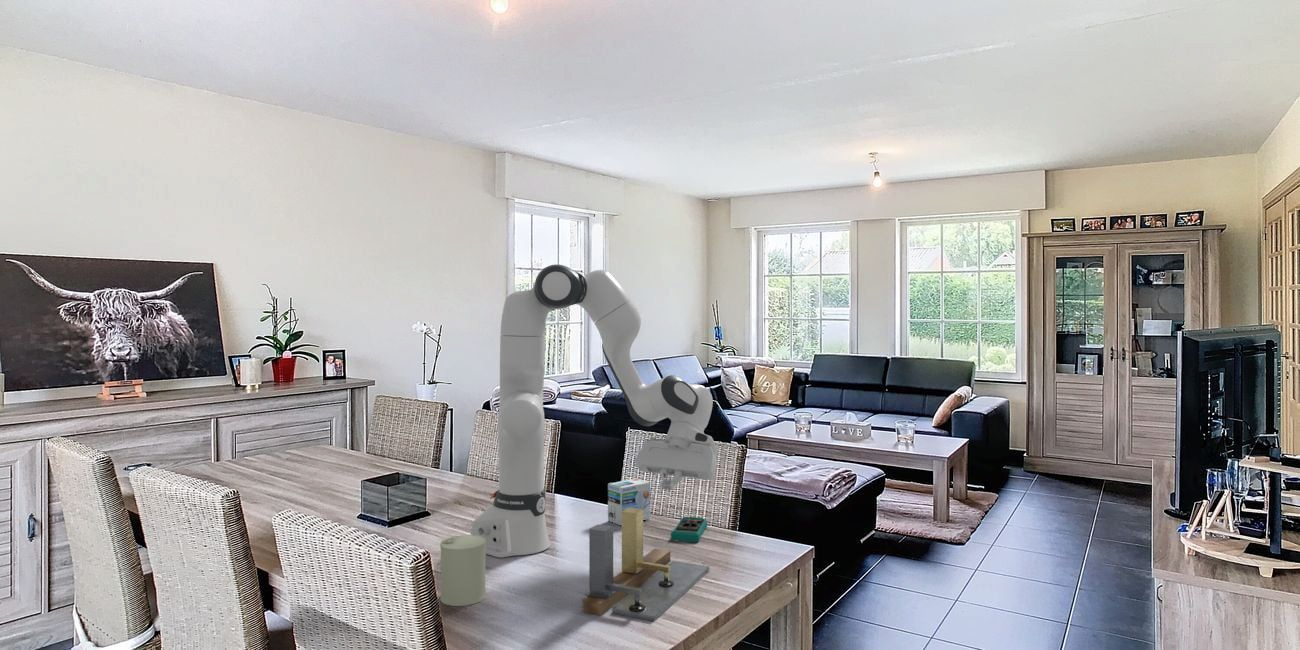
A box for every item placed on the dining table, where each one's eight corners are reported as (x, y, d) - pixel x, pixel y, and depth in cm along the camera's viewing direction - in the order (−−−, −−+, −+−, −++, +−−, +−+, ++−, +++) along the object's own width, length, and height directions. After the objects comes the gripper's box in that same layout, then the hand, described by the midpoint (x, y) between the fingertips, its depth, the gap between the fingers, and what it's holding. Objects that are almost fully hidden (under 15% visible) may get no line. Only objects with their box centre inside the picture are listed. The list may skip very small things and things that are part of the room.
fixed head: (585, 600, 146) (585, 529, 145) (596, 592, 150) (596, 523, 149) (635, 610, 141) (635, 536, 141) (645, 601, 145) (645, 530, 145)
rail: (582, 612, 144) (582, 599, 144) (655, 558, 175) (655, 548, 175) (600, 615, 142) (600, 602, 142) (670, 561, 173) (670, 550, 173)
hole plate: (612, 613, 143) (612, 607, 143) (672, 564, 171) (672, 559, 171) (654, 621, 140) (654, 615, 140) (709, 570, 167) (709, 565, 167)
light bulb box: (621, 526, 201) (621, 487, 200) (606, 521, 206) (606, 483, 205) (651, 519, 208) (651, 481, 207) (635, 514, 213) (635, 477, 213)
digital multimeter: (707, 527, 201) (707, 517, 201) (698, 544, 187) (698, 533, 187) (681, 526, 203) (681, 515, 203) (670, 542, 189) (670, 531, 188)
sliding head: (621, 576, 158) (621, 511, 158) (629, 571, 162) (629, 507, 161) (666, 584, 154) (666, 517, 154) (672, 579, 157) (672, 513, 157)
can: (445, 589, 156) (444, 533, 155) (489, 588, 156) (488, 532, 156) (436, 607, 146) (435, 547, 146) (483, 605, 147) (482, 546, 147)
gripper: (642, 430, 187) (623, 475, 178) (718, 437, 178) (702, 486, 170) (649, 445, 191) (631, 490, 182) (723, 453, 182) (708, 501, 174)
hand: (666, 488), depth 176 cm, fingers closed
